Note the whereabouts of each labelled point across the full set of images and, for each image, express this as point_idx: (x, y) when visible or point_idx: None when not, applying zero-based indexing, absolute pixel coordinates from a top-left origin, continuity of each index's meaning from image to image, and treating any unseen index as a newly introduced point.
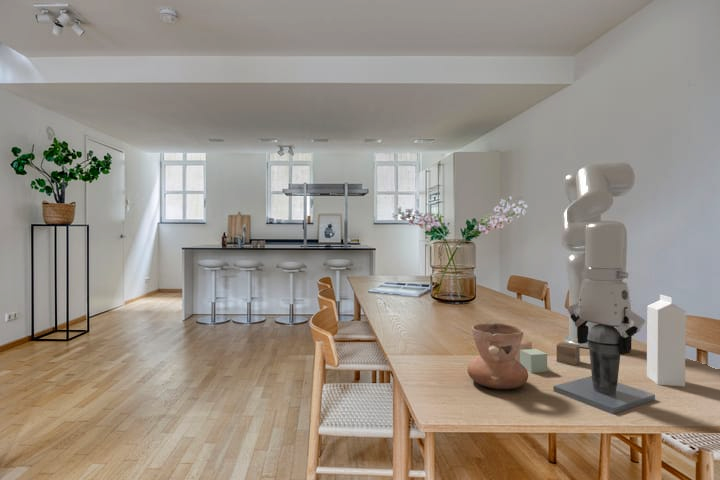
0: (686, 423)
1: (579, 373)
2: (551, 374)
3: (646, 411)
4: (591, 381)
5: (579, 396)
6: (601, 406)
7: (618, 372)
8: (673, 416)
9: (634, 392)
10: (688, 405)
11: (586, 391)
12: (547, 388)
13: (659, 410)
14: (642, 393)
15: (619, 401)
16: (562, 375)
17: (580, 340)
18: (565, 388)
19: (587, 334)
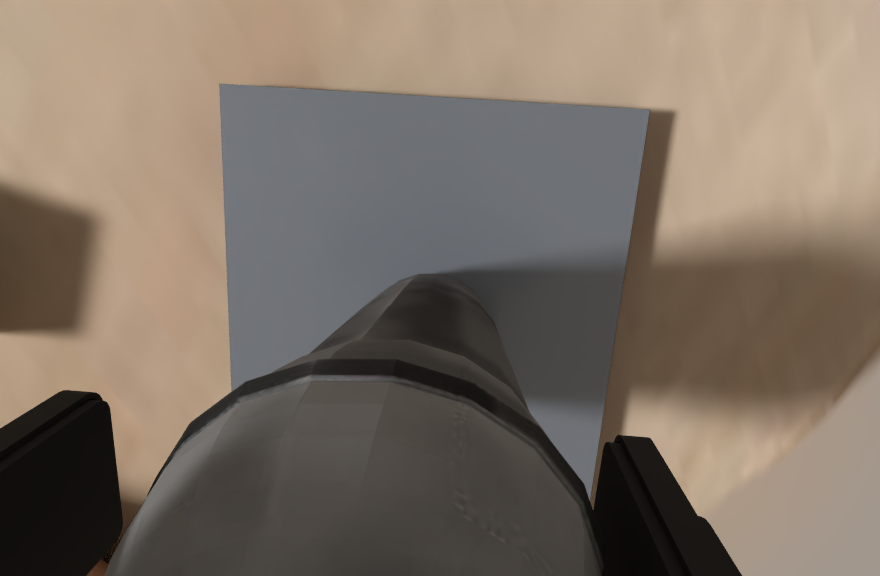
0: (859, 332)
1: (96, 41)
2: (41, 245)
3: (669, 346)
4: (292, 239)
5: None
6: None
7: (504, 348)
8: (788, 293)
9: (551, 197)
10: (811, 17)
11: None
12: None
13: (712, 271)
14: (591, 170)
15: (563, 424)
16: (82, 198)
17: (93, 560)
18: None
19: (26, 473)
